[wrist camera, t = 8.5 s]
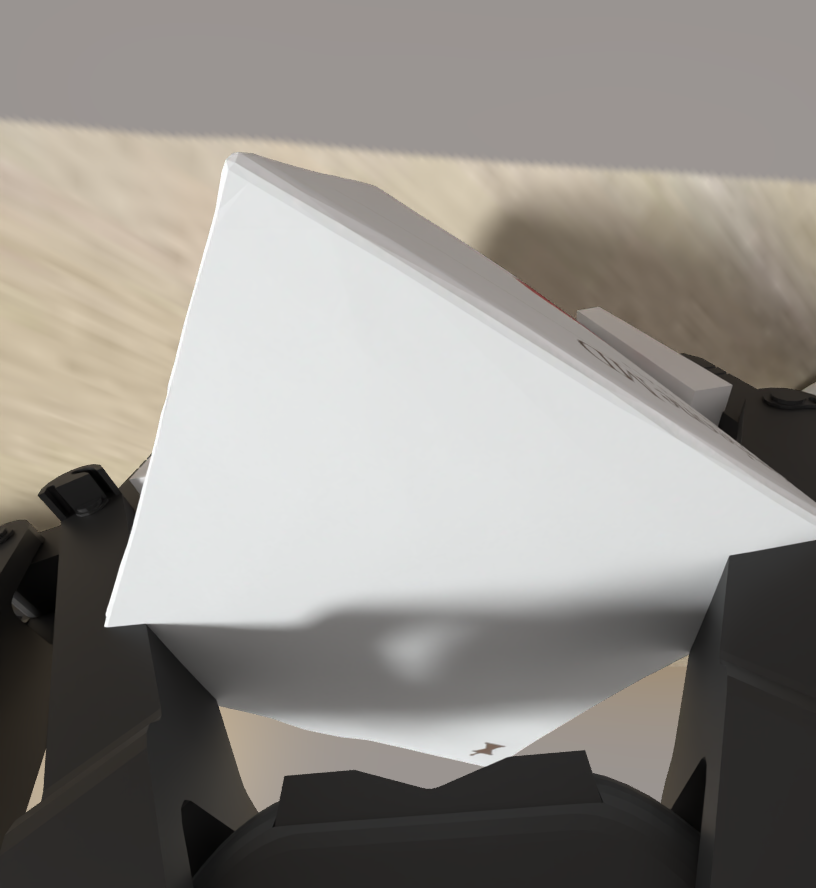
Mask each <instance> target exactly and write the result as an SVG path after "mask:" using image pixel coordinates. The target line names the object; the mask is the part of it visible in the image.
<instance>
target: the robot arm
mask: <svg viewBox="0 0 816 888" xmlns="http://www.w3.org/2000/svg"><path fill="white" fill-rule="evenodd" d="M577 321H578V322H579V323H580V324H582V325H583V326H585V327H586V328H587V329H589V330H590V331H591V332H593V333H594V334H595V335H597V336H598V337H599V338H601V339H602V340H603V341H605V342H606V343H607V344H609V345H610V346H611V347H613V348H614V349H615V350H617V351H618V352H619V353H620V354H622V355H623V356H624V357H626V358H627V359H628V360H630V361H631V362H632V363H634V364H635V365H636V366H638V367H639V368H640V369H642V370H643V371H644V372H646V373H647V374H648V375H650V376H651V377H652V378H654V379H655V380H656V381H658V382H659V383H660V384H662V385H663V386H664V387H666V388H667V389H668V390H670V391H671V392H672V393H674V394H675V395H676V396H678V397H679V398H680V399H682V400H683V401H684V402H686V403H687V404H688V405H690V406H691V407H692V408H694V409H695V410H696V411H698V412H699V413H700V414H701V415H703V416H704V417H705V418H707V419H708V420H709V421H711V422H712V423H713V424H715V425H716V426H717V427H718V428H720V429H721V430H722V431H724V432H725V433H726V434H728V435H729V436H730V437H731V438H733V439H734V440H735V441H737V442H738V443H739V444H741V445H742V446H743V447H744V448H746V449H747V450H748V451H750V452H751V453H752V454H754V455H755V456H756V457H757V458H759V459H760V460H761V461H763V462H764V463H765V464H767V465H768V466H769V467H770V468H772V469H773V470H775V471H776V472H777V473H779V474H780V475H781V476H783V477H784V478H785V479H786V480H788V481H789V482H790V483H791V484H793V485H794V486H795V487H796V488H798V489H799V490H800V491H802V492H803V493H804V494H805V495H807V496H808V497H809V498H811V499H812V500H813V501H815V502H816V395H813V394H810V393H807V392H803V391H800V390H793V389H787V388H764V389H756V388H754V387H752V386H750V385H749V384H747V383H745V382H743V381H741V380H740V379H738V378H736V377H734V376H732V375H731V374H726V372H725V371H724V370H722V369H720V368H718V367H717V368H715V365H713V364H711V363H709V362H707V361H706V360H704V359H702V358H699V357H695V356H691V355H688V354H684V353H681V354H679V353H677V352H676V351H674V350H672V349H670V348H669V347H667V346H665V345H664V344H662V343H660V342H659V341H657V340H655V339H653V338H652V337H650V336H648V335H647V334H645V333H643V332H642V331H640V330H638V329H636V328H635V327H633V326H631V325H630V324H628V323H626V322H625V321H623V320H621V319H619V318H618V317H616V316H614V315H613V314H611V313H609V312H608V311H606V310H604V309H602V308H601V307H594V308H589V309H583V310H577ZM151 455H152V454H151ZM151 455H150V456H149V457H148V458H147V460H145V461H144V462H143V463H142V464H141V465H140V466H139V467H140V468H139V469H136V471H135V472H134V473H133V474H132V475H131V476H130V477H129V478H128V479H127V480H126V481H125V482H124V483H123V484H122V485H121V486H120V487H119V488H117V486H116V485H115V484H114V482H113V481H112V480H111V478H110V477H109V476H108V474H107V473H106V472H105V470H104V469H103V468H102V467H101V465H96V464H92V465H86V466H82V467H79V468H76V469H74V470H71V471H69V472H67V473H65V474H63V475H61V476H59V477H57V478H56V479H54V480H52V481H51V482H49V483H48V484H47V485H46V486H45V487H43V488H42V489H41V491H40V492H39V494H38V496H39V497H40V499H41V500H42V501H43V502H44V503H45V504H46V505H47V506H48V507H49V508H50V509H51V511H52V512H53V513H54V514H55V515H56V516H57V517H58V518H59V519H60V520H61V526H58V527H55V528H52V529H49V530H46V531H43V532H40V533H39V532H38V531H37V530H36V529H35V528H34V527H33V526H32V525H31V524H30V523H29V522H28V521H27V520H17V521H13V522H9V523H6V524H4V525H2V526H0V888H816V540H812V541H807V542H802V543H796V544H791V545H785V546H780V547H775V548H769V549H764V550H758V551H752V552H747V553H741V554H735V555H729V558H728V560H727V563H726V565H725V568H724V570H723V573H722V575H721V578H720V580H719V583H718V585H717V588H716V590H715V593H714V595H713V598H712V600H711V603H710V605H709V607H708V610H707V612H706V615H705V617H704V619H703V622H702V624H701V627H700V629H699V631H698V634H697V636H696V638H695V641H694V643H693V645H692V647H691V650H690V652H689V658H688V665H687V671H686V677H685V683H684V690H683V696H682V702H681V709H680V715H679V721H678V728H677V734H676V740H675V746H674V751H673V756H672V760H671V763H670V767H669V771H668V774H667V778H666V781H665V786H664V790H663V794H662V800H661V803H660V802H658V801H656V800H655V799H653V798H652V797H650V796H649V795H647V794H645V793H643V792H640V791H639V790H637V789H635V788H633V787H631V786H629V785H627V784H625V783H622V782H619V781H617V780H614V779H611V778H609V777H606V776H603V775H598V774H595V773H592V770H591V767H590V764H589V761H588V758H587V755H586V752H585V750H583V751H571V752H560V753H548V754H537V755H524V756H513V757H506V758H504V759H502V760H500V761H497V762H495V763H493V764H490V765H488V766H486V767H484V768H481V769H479V770H477V771H474V772H472V773H470V774H468V775H465V776H463V777H461V778H459V779H456V780H454V781H452V782H449V783H447V784H445V785H443V786H440V787H437V788H433V789H425V788H420V787H417V786H413V785H409V784H405V783H401V782H398V781H394V780H390V779H386V778H383V777H379V776H375V775H371V774H367V773H363V772H360V771H356V770H349V771H337V772H327V773H314V774H302V775H291V776H285V777H284V781H283V786H282V792H281V796H280V801H279V802H276V803H274V804H272V805H271V806H269V807H267V808H266V809H264V810H262V811H261V812H259V813H258V811H257V810H256V808H255V807H254V805H253V803H252V801H251V800H250V798H249V796H248V794H247V793H246V790H245V788H244V786H243V783H242V780H241V777H240V774H239V771H238V768H237V764H236V761H235V758H234V755H233V752H232V748H231V745H230V742H229V739H228V735H227V732H226V729H225V726H224V723H223V719H222V716H221V713H220V710H219V706H218V703H217V700H216V699H215V698H214V697H213V696H212V695H211V694H210V693H209V692H208V691H207V690H206V689H205V688H204V687H203V685H202V684H201V683H200V682H199V681H198V680H197V679H196V678H195V677H194V676H193V675H192V674H191V673H190V672H189V671H188V669H187V668H186V667H185V666H184V665H183V664H182V663H181V662H180V661H179V660H178V659H177V658H176V657H175V656H174V654H173V653H172V652H171V651H170V650H169V649H168V648H167V647H166V646H165V644H164V643H163V642H162V641H161V640H160V639H159V638H158V637H157V636H156V634H155V633H154V632H153V631H152V630H151V629H150V628H149V627H148V626H147V624H136V625H126V626H116V627H104V624H105V621H106V612H107V608H108V605H109V601H110V598H111V595H112V592H113V588H114V585H115V581H116V578H117V575H118V571H119V568H120V564H121V561H122V559H123V556H124V553H125V550H126V547H127V544H128V541H129V537H130V534H131V531H132V527H133V523H134V519H135V515H136V511H137V507H138V503H139V499H140V495H141V491H142V488H143V484H144V481H145V477H146V474H147V470H148V467H149V463H150V459H151ZM45 750H46V758H45V759H46V760H45V774H44V788H43V795H42V800H41V802H40V803H39V804H37V805H36V806H34V807H33V808H32V809H31V810H29V811H27V812H26V809H27V806H28V803H29V800H30V797H31V793H32V791H33V788H34V784H35V781H36V778H37V775H38V771H39V769H40V765H41V762H42V759H43V756H44V753H45Z"/></svg>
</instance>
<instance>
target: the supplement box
mask: <svg viewBox="0 0 816 888" xmlns="http://www.w3.org/2000/svg"><path fill="white" fill-rule="evenodd" d="M812 540H816V502H815V501H813V500H812V499H811V498H809V497H808V496H807V495H805V494H804V493H803V492H802V491H800V490H799V489H798V488H796V487H795V486H794V485H793V484H791V483H790V482H789V481H788V480H786V479H785V478H784V477H783V476H781V475H780V474H779V473H777V472H776V471H775V470H773V469H772V468H770V467H769V466H768V465H767V464H765V463H764V462H763V461H761V460H760V459H759V458H757V457H756V456H755V455H754V454H752V453H751V452H750V451H748V450H747V449H746V448H744V447H743V446H742V445H741V444H739V443H738V442H737V441H735V440H734V439H733V438H731V437H730V436H729V435H728V434H726V433H725V432H724V431H722V430H721V429H720V428H718V427H717V426H716V425H715V424H713V423H712V422H711V421H709V420H708V419H707V418H705V417H704V416H703V415H701V414H700V413H699V412H698V411H696V410H695V409H694V408H692V407H691V406H690V405H688V404H687V403H686V402H684V401H683V400H682V399H680V398H679V397H678V396H676V395H675V394H674V393H672V392H671V391H670V390H668V389H667V388H666V387H664V386H663V385H662V384H660V383H659V382H658V381H656V380H655V379H654V378H652V377H651V376H650V375H648V374H647V373H646V372H644V371H643V370H642V369H640V368H639V367H638V366H636V365H635V364H634V363H632V362H631V361H630V360H628V359H627V358H626V357H624V356H623V355H622V354H620V353H619V352H618V351H617V350H615V349H614V348H613V347H611V346H610V345H609V344H607V343H606V342H605V341H603V340H602V339H601V338H599V337H598V336H597V335H595V334H594V333H593V332H591V331H590V330H589V329H587V328H586V327H585V326H583V325H582V324H580V323H579V322H578V321H576V320H575V319H573V318H572V317H571V316H569V315H568V314H567V313H565V312H564V311H562V310H561V309H560V308H558V307H557V306H555V305H554V304H553V303H551V302H550V301H549V300H547V299H546V298H545V297H543V296H542V295H541V294H539V293H538V292H536V291H535V290H534V289H532V288H531V287H529V286H528V285H527V284H525V283H524V282H522V281H521V280H519V279H518V278H517V277H515V276H514V275H512V274H511V273H510V272H508V271H507V270H505V269H504V268H502V267H501V266H499V265H498V264H496V263H495V262H493V261H492V260H490V259H489V258H487V257H486V256H484V255H483V254H481V253H479V252H478V251H476V250H475V249H473V248H472V247H470V246H469V245H467V244H466V243H464V242H462V241H461V240H459V239H458V238H456V237H455V236H453V235H451V234H450V233H448V232H447V231H445V230H443V229H442V228H440V227H439V226H437V225H436V224H434V223H432V222H431V221H429V220H427V219H426V218H424V217H423V216H421V215H419V214H418V213H416V212H415V211H413V210H412V209H410V208H409V207H407V206H406V205H404V204H403V203H401V202H399V201H398V200H396V199H395V198H393V197H392V196H390V195H389V194H387V193H386V192H384V191H383V190H381V189H379V188H378V187H376V186H373V185H370V184H367V183H363V182H359V181H356V180H351V179H345V178H341V177H337V176H333V175H327V174H322V173H318V172H314V171H311V170H307V169H303V168H299V167H296V166H292V165H289V164H285V163H282V162H278V161H275V160H272V159H268V158H265V157H262V156H259V155H256V154H253V153H242V152H237V153H232V154H231V155H230V156H229V157H228V158H227V159H226V160H225V164H224V167H223V170H222V174H221V180H220V186H219V192H218V198H217V205H216V210H215V214H214V218H213V221H212V225H211V229H210V232H209V236H208V240H207V243H206V247H205V250H204V254H203V258H202V261H201V265H200V269H199V272H198V276H197V280H196V283H195V287H194V290H193V294H192V298H191V301H190V305H189V308H188V312H187V316H186V319H185V323H184V326H183V330H182V334H181V338H180V342H179V346H178V351H177V355H176V359H175V363H174V366H173V370H172V373H171V377H170V380H169V384H168V392H167V398H166V400H165V403H164V406H163V409H162V412H161V417H160V422H159V426H158V431H157V435H156V439H155V443H154V447H153V451H152V455H151V459H150V463H149V467H148V470H147V474H146V477H145V481H144V484H143V488H142V491H141V495H140V499H139V503H138V507H137V511H136V515H135V519H134V523H133V527H132V531H131V534H130V537H129V541H128V544H127V547H126V550H125V553H124V556H123V559H122V561H121V564H120V568H119V571H118V575H117V578H116V581H115V585H114V588H113V592H112V595H111V598H110V601H109V605H108V608H107V612H106V621H105V624H104V627H116V626H126V625H136V624H147V626H148V627H149V628H150V629H151V630H152V631H153V632H154V633H155V634H156V636H157V637H158V638H159V639H160V640H161V641H162V642H163V643H164V644H165V646H166V647H167V648H168V649H169V650H170V651H171V652H172V653H173V654H174V656H175V657H176V658H177V659H178V660H179V661H180V662H181V663H182V664H183V665H184V666H185V667H186V668H187V669H188V671H189V672H190V673H191V674H192V675H193V676H194V677H195V678H196V679H197V680H198V681H199V682H200V683H201V684H202V685H203V687H204V688H205V689H206V690H207V691H208V692H209V693H210V694H211V695H212V696H213V697H214V698H215V699H216V700H217V703H218V706H221V707H226V708H230V709H235V710H240V711H244V712H249V713H253V714H256V715H260V716H265V717H269V718H272V719H275V720H278V721H281V722H284V723H287V724H290V725H293V726H296V727H299V728H302V729H305V730H310V731H314V732H319V733H324V734H329V735H333V736H338V737H345V738H355V739H364V740H371V741H375V742H379V743H384V744H388V745H392V746H397V747H401V748H406V749H410V750H414V751H419V752H423V753H427V754H432V755H436V756H440V757H445V758H449V759H454V760H458V761H462V762H467V763H471V764H476V765H480V766H484V767H486V766H488V765H490V764H493V763H495V762H497V761H500V760H502V759H504V758H506V757H511V756H513V755H514V754H516V753H517V752H519V751H520V750H522V749H523V748H525V747H527V746H528V745H529V744H531V743H533V742H535V741H536V740H538V739H540V738H541V737H543V736H544V735H546V734H548V733H549V732H551V731H553V730H554V729H556V728H558V727H559V726H561V725H563V724H564V723H566V722H568V721H570V720H571V719H573V718H575V717H576V716H578V715H580V714H581V713H583V712H585V711H586V710H588V709H590V708H592V707H593V706H595V705H597V704H599V703H600V702H602V701H604V700H605V699H607V698H609V697H611V696H612V695H614V694H616V693H618V692H619V691H621V690H623V689H624V688H627V687H628V686H630V685H632V684H634V683H635V682H637V681H639V680H641V679H642V678H644V677H646V676H648V675H650V674H652V673H654V672H656V671H658V670H660V669H662V668H664V667H666V666H668V665H670V664H672V663H673V662H675V661H677V660H679V659H681V658H683V657H685V656H687V655H689V652H690V650H691V647H692V645H693V643H694V641H695V638H696V636H697V634H698V631H699V629H700V627H701V624H702V622H703V619H704V617H705V615H706V612H707V610H708V607H709V605H710V603H711V600H712V598H713V595H714V593H715V590H716V588H717V585H718V583H719V580H720V578H721V575H722V573H723V570H724V568H725V565H726V563H727V560H728V558H729V555H735V554H741V553H747V552H752V551H758V550H764V549H769V548H775V547H780V546H785V545H791V544H796V543H802V542H807V541H812Z"/></svg>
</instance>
